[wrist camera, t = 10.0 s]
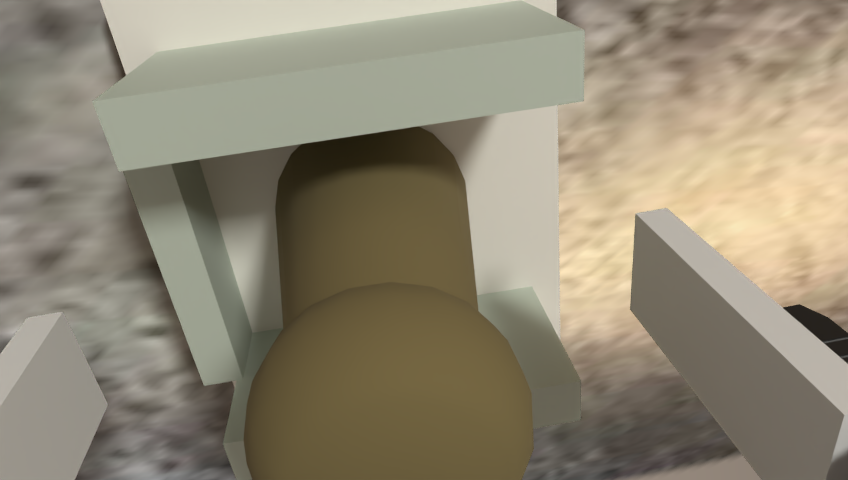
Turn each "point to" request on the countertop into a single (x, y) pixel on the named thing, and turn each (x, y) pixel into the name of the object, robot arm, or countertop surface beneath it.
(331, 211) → the brown rounded knob
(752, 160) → the countertop surface
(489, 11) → the holder
